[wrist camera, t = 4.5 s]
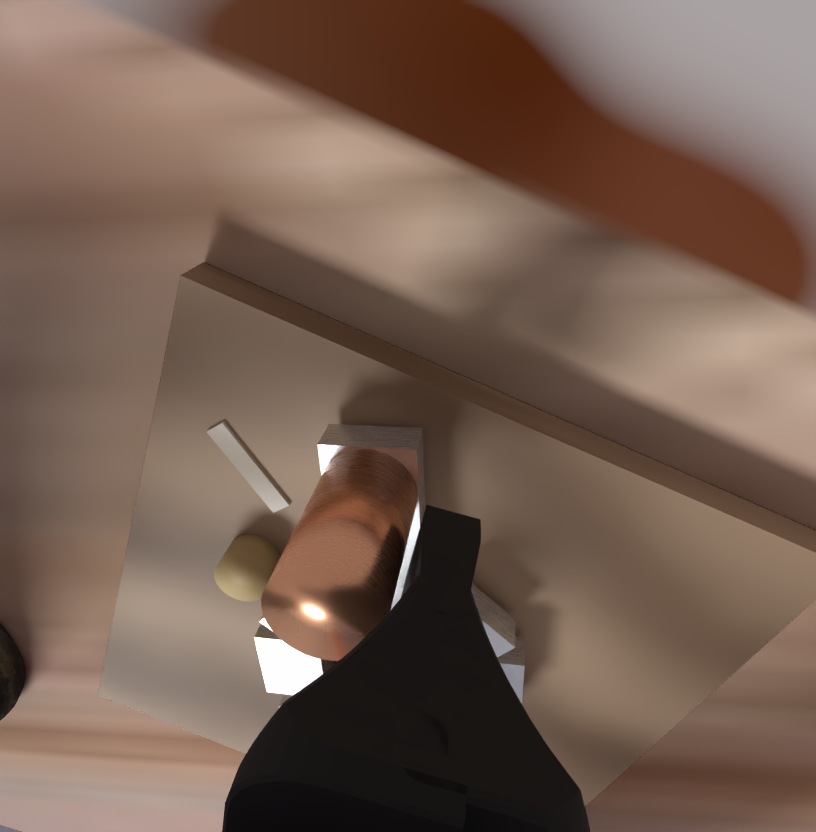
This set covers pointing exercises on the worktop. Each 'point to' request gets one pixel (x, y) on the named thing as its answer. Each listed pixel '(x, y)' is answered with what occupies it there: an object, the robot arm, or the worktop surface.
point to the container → (9, 674)
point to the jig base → (444, 488)
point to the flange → (356, 560)
